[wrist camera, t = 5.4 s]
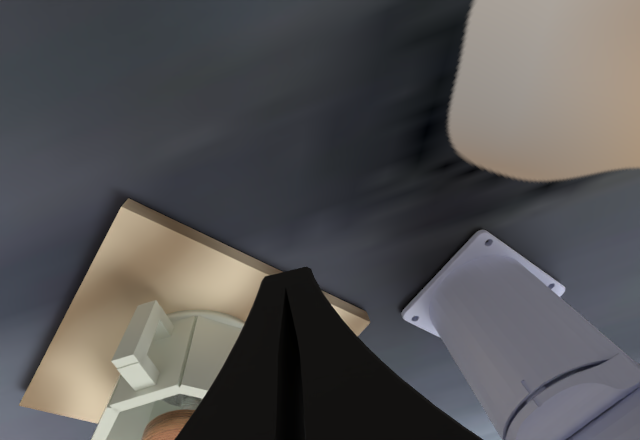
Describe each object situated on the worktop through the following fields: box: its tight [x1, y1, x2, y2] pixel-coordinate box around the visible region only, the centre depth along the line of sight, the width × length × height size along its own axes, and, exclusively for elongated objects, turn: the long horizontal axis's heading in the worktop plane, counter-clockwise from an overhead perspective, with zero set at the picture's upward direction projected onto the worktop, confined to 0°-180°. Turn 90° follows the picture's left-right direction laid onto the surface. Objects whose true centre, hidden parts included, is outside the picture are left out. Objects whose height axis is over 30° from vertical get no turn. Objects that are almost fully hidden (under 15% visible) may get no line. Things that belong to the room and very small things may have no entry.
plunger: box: [141, 394, 202, 440], centre depth 19 cm, size 6×6×6 cm
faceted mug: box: [91, 300, 245, 440], centre depth 19 cm, size 11×9×5 cm
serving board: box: [19, 198, 370, 424], centre depth 22 cm, size 16×16×1 cm
